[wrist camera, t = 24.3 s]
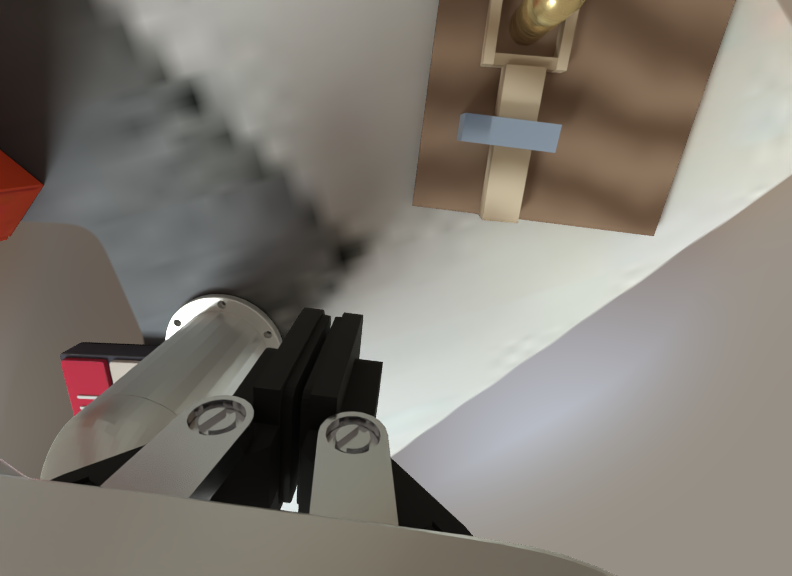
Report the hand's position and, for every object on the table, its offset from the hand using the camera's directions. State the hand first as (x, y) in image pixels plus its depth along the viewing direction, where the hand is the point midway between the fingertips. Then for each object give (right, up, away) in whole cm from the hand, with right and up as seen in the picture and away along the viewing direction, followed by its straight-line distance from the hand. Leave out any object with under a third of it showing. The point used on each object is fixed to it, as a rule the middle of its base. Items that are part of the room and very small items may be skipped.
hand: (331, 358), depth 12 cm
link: (+12, +17, +22) cm, 30 cm away
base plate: (+15, +17, +24) cm, 33 cm away
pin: (+12, +22, +20) cm, 33 cm away
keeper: (+11, +15, +23) cm, 30 cm away
